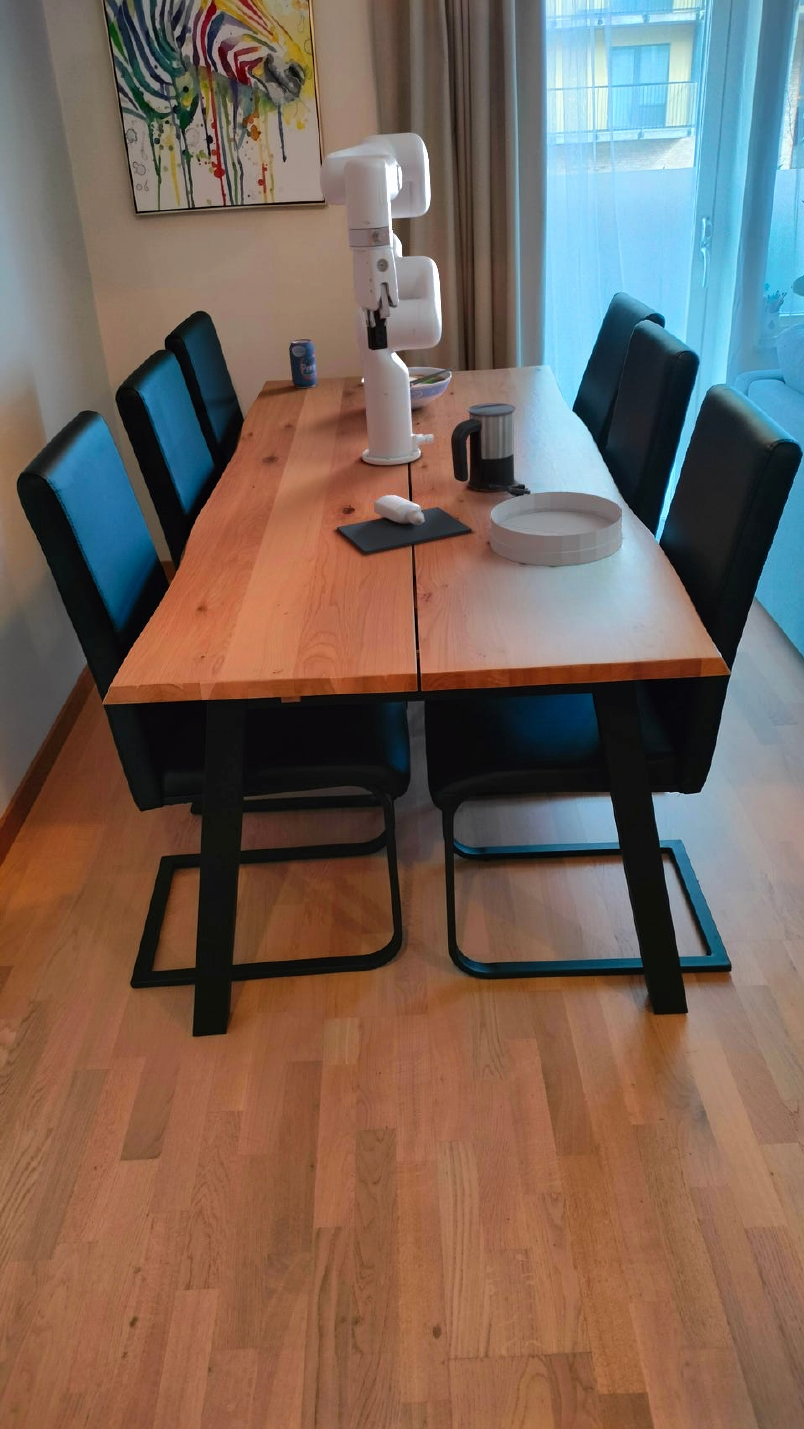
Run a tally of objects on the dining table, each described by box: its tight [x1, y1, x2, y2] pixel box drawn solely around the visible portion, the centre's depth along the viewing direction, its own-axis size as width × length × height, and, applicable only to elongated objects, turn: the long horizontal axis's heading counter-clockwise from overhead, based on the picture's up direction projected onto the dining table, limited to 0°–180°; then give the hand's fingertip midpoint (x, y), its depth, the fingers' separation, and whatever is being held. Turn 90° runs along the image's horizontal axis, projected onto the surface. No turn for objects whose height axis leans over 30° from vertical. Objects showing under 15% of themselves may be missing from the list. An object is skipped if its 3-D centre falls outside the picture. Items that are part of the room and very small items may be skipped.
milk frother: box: [450, 402, 531, 497], centre depth 195 cm, size 14×16×15 cm
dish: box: [489, 491, 624, 567], centre depth 172 cm, size 22×22×5 cm
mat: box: [336, 506, 473, 556], centre depth 182 cm, size 20×14×1 cm
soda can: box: [288, 338, 318, 389], centre depth 285 cm, size 7×7×12 cm
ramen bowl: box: [360, 366, 457, 411], centre depth 258 cm, size 25×23×8 cm
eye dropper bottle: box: [373, 494, 425, 525], centre depth 184 cm, size 4×6×12 cm
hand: (378, 348), depth 188 cm, fingers closed
